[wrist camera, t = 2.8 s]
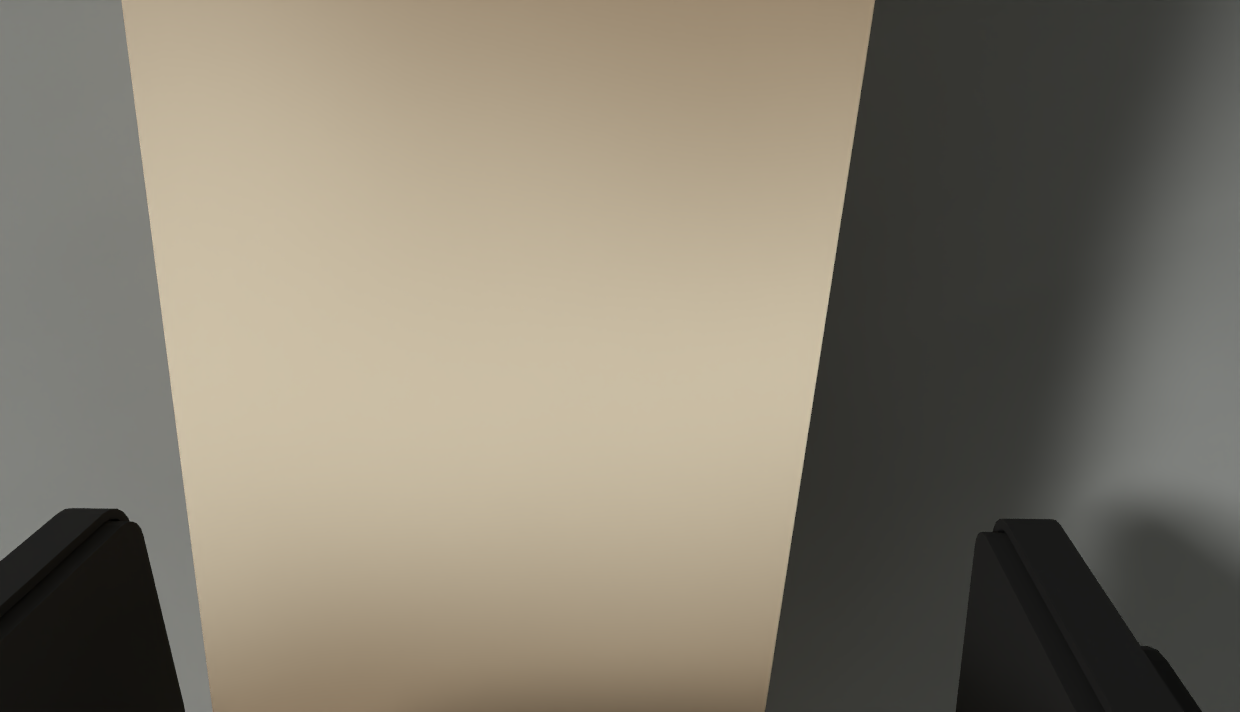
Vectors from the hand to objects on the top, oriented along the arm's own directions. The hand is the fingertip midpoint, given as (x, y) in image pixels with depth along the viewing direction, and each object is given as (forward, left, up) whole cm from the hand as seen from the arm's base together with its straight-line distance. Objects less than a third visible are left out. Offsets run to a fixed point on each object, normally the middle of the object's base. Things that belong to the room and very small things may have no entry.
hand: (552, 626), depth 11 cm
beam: (-1, 0, -3) cm, 3 cm away
